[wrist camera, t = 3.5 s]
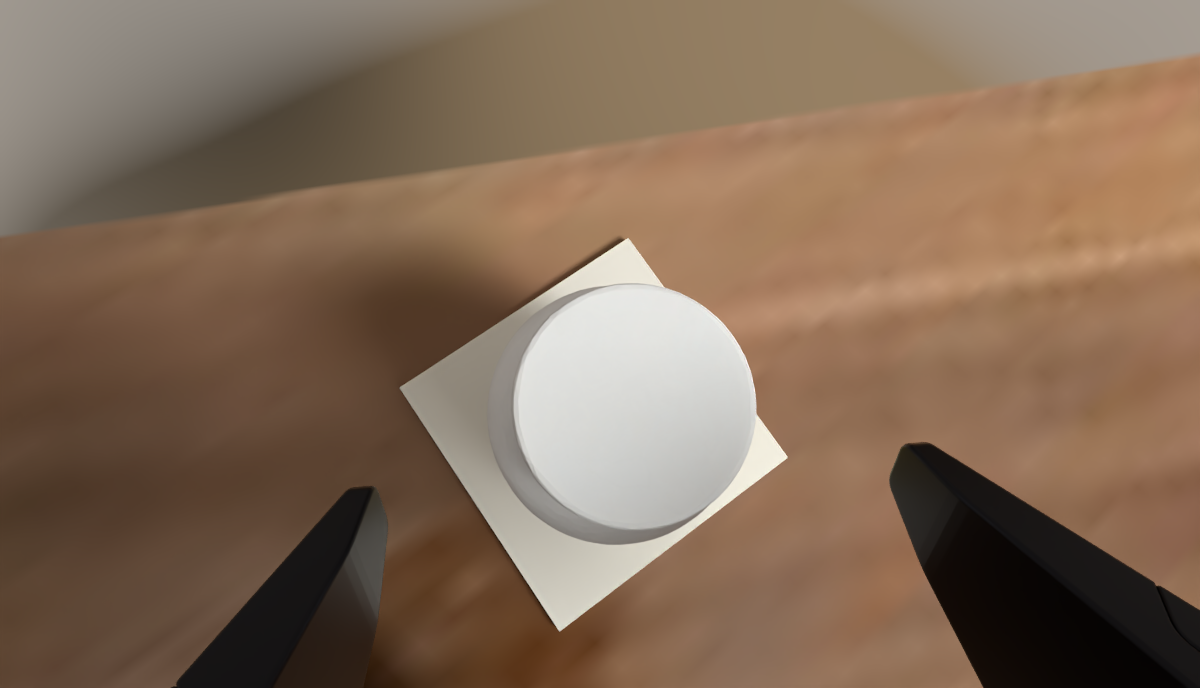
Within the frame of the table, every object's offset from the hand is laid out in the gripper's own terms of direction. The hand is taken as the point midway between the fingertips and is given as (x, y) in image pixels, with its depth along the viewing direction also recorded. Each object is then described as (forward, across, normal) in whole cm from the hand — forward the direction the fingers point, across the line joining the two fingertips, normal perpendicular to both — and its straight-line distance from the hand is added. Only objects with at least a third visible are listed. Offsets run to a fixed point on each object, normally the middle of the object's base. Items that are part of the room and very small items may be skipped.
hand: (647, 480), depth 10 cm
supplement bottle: (+7, 0, +6) cm, 9 cm away
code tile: (+7, 0, +6) cm, 9 cm away
